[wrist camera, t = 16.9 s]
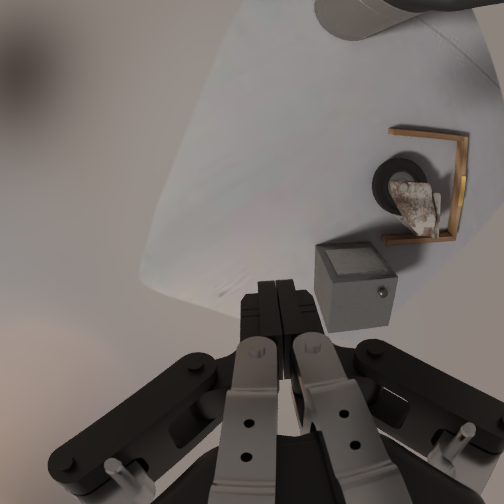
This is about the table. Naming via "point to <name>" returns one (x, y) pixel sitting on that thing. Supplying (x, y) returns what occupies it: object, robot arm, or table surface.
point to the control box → (353, 286)
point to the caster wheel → (408, 196)
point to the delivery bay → (456, 196)
